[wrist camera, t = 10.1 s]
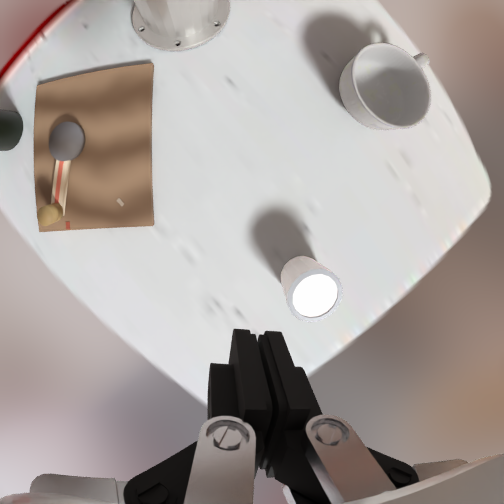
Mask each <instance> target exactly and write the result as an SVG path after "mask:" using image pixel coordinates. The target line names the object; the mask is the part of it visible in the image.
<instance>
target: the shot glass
mask: <svg viewBox="0 0 504 504" xmlns="http://www.w3.org/2000/svg"><path fill="white" fill-rule="evenodd" d="M281 284H282V287H283V291H284V294H285V298H286V301H287V305H288V307H289V309H290V311H291V313H292V314H293V315H294V316H295V317H296V318H298V319H299V320H302V321H306V322H315V321H320V320H322V319H324V318H326V317H328V316H330V315H331V314H332V313H333V312H334V311H335V310H336V309H337V308H338V306H339V303H340V301H341V299H342V291H343V288H342V285H341V282H340V279H339V278H338V277H337V276H336V275H335V274H334V273H333V272H332V271H330V270H329V269H327V268H326V267H324V266H323V265H321V264H320V263H318V262H317V261H315V260H314V259H312V258H310V257H307V256H297V257H295V258H293V259H290V260H289V261H288V262H287V263H286V264H285V265H284V267H283V269H282V272H281Z"/></svg>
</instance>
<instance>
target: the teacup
mask: <svg viewBox="0 0 504 504" xmlns="http://www.w3.org/2000/svg"><path fill="white" fill-rule="evenodd" d="M429 62H430V60H429V58H428V57H427V55H426V54H424V53H420V54H418V55H416V56H414V57H412V56H411V55H410V54H408V53H407V52H406V51H404V50H403V49H401V48H399V47H397V46H395V45H392V44H389V43H373V44H369V45H367V46H365V47H363V48H362V49H361V50H360V51H359V52H358V53H357V55H356V56H355V57H354V58H352V59H351V61H350V62H349V63H348V64H347V65H346V66H345V68H344V70H343V71H342V74H341V77H340V82H339V91H340V96H341V99H342V102H343V104H344V106H345V108H346V109H347V111H348V112H349V113H350V115H351V116H352V117H353V118H354V119H355V120H357V121H358V122H359V123H361V124H362V125H364V126H366V127H369V128H372V129H376V130H393V129H405V128H410V127H413V126H416V125H417V124H419V123H420V122H422V120H423V119H424V118H425V116H426V115H427V113H428V111H429V108H430V104H431V90H430V86H429V82H428V80H427V77H426V75H425V73H424V71H423V69H422V68H423V67H425V66H426V65H427V64H429Z"/></svg>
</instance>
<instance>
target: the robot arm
mask: <svg viewBox="0 0 504 504" xmlns="http://www.w3.org/2000/svg"><path fill="white" fill-rule="evenodd" d="M133 1H134V3H135V4H136V5H135V7H134V10H133V14H132V22H133V26H134V29H135V31H136V33H137V34H138V36H139V37H140V38H141V39H142V40H143V41H144V42H145V43H146V44H148V45H150V46H152V47H154V48H157V49H160V50H166V51H182V50H188V49H192V48H195V47H198V46H200V45H202V44H204V43H206V42H208V41H209V40H211V39H212V38H214V37H215V36H216V35H217V34H218V33H219V32H220V31H221V30H222V29H223V27H224V26H225V24H226V22H227V20H228V17H229V12H230V2H229V0H133ZM216 25H219V26H216ZM142 30H144V31H142ZM141 31H142V32H141ZM177 44H180V45H179V46H176V45H177ZM258 467H260V469H265V471H266V476H267V478H269V477H275V479H276V480H278V481H279V482H281V483H282V490H283V493H284V495H285V498H286V500H287V502H288V504H504V454H497V455H493V456H488V457H484V458H480V459H477V460H474V461H472V462H470V463H468V462H467V461H464V460H462V459H454V460H447V461H439V462H430V463H421V464H414V465H413V467H411V466H410V465H408V464H406V463H404V462H401V461H399V460H396V459H394V458H391V457H389V456H387V455H384V454H382V453H379V452H377V451H375V450H372V449H370V448H368V447H366V446H365V444H364V443H363V442H362V440H361V439H360V438H359V436H358V435H357V433H356V432H355V431H354V429H353V428H352V426H351V425H350V424H349V423H348V422H347V421H345V420H343V419H342V418H340V417H337V416H334V415H323V414H322V412H321V410H320V407H319V405H318V402H317V400H316V398H315V395H314V393H313V390H312V388H311V386H310V383H309V381H308V378H307V376H306V374H305V371H304V369H303V368H302V367H295V366H294V363H293V361H292V358H291V356H290V353H289V350H288V348H287V345H286V343H285V340H284V337H283V335H282V333H281V332H277V331H265V333H264V335H259V337H258V342H257V339H256V335H255V334H251V333H250V330H244V329H234V330H233V335H232V342H231V350H230V357H229V364H216V363H211V364H210V371H209V382H208V420H207V421H206V422H205V423H204V424H203V426H202V428H201V430H200V434H199V438H198V441H196V442H194V443H193V444H191V445H190V446H188V447H186V448H185V449H183V450H181V451H180V452H178V453H176V454H175V455H173V456H171V457H170V458H168V459H166V460H164V461H163V462H161V463H159V464H157V465H156V466H154V467H152V468H150V469H148V470H147V471H145V472H143V473H141V474H139V475H137V476H135V477H134V478H132V479H131V480H130V481H128V482H127V481H126V482H124V481H116V480H115V478H91V477H78V476H66V475H58V474H42V475H40V476H37V477H36V478H35V479H34V480H33V481H32V484H31V487H30V493H20V494H12V495H8V496H5V497H3V498H1V499H0V504H253V497H254V496H253V495H254V479H255V476H256V473H257V470H258Z"/></svg>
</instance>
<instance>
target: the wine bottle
mask: <svg viewBox="0 0 504 504" xmlns="http://www.w3.org/2000/svg"><path fill="white" fill-rule="evenodd" d="M22 132H23V121H22V118H21V116H20V115H19V114H18V113H16V112H13V111H7V110H1V109H0V151H8V150H11V149H13V148H14V147H15V146H16V145H17V144H18V142H19V140H20V138H21V136H22Z"/></svg>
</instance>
